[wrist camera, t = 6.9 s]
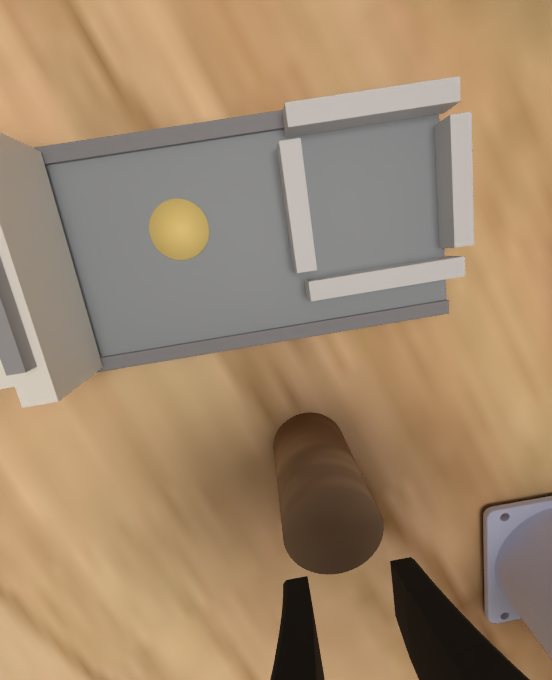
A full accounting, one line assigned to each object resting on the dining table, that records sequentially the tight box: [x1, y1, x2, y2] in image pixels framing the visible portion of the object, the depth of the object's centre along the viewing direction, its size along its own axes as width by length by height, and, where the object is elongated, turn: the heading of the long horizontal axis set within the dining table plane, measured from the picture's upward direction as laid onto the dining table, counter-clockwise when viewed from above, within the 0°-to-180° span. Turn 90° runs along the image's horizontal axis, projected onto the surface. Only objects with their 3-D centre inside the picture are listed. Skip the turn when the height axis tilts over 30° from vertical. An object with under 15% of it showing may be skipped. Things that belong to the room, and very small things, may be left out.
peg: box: [274, 413, 383, 574], centre depth 16 cm, size 4×4×6 cm
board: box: [34, 76, 474, 372], centre depth 15 cm, size 27×9×2 cm, turn 99°
